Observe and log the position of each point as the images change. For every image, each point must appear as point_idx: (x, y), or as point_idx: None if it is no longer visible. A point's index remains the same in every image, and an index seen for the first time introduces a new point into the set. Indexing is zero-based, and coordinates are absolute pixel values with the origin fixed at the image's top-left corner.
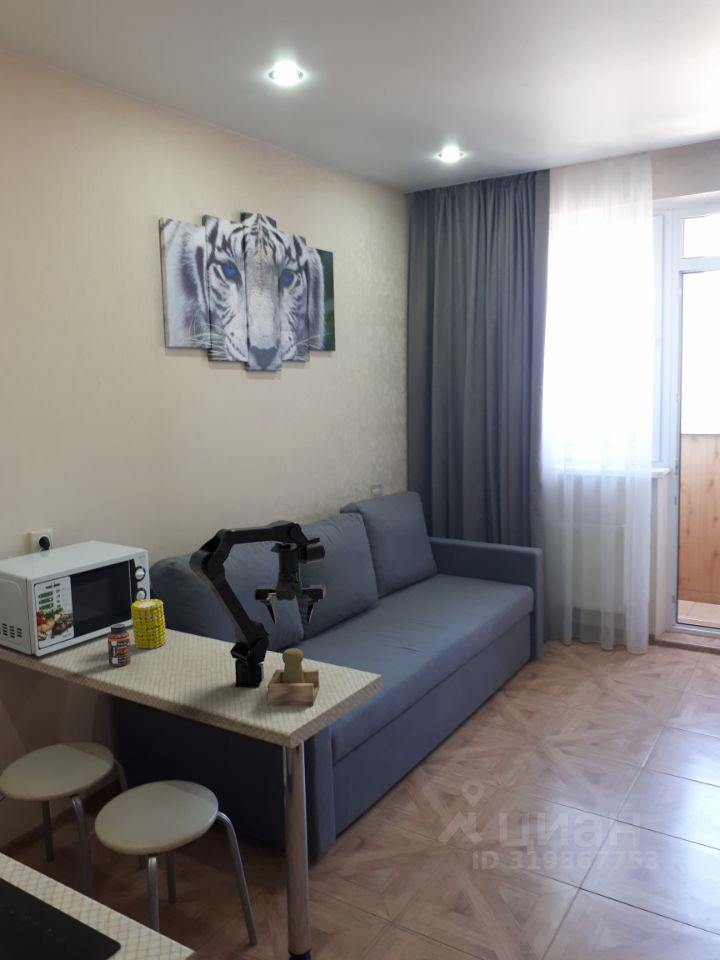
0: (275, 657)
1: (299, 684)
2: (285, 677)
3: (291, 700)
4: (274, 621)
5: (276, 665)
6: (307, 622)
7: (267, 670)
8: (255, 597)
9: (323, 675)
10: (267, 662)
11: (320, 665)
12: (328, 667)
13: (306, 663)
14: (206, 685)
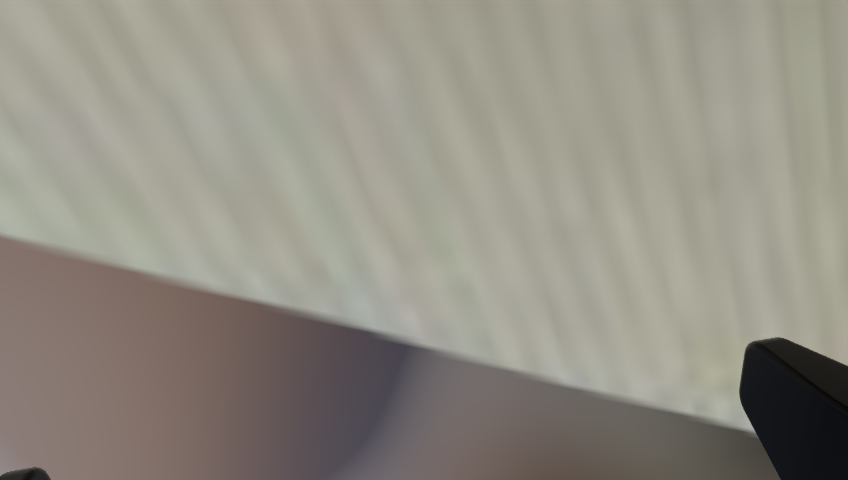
0: (592, 339)
1: None
2: None
3: None
4: (791, 360)
5: (544, 187)
6: (22, 476)
7: (595, 59)
8: None
9: (2, 6)
10: (632, 237)
11: (165, 248)
12: (69, 216)
13: (306, 269)
14: None
